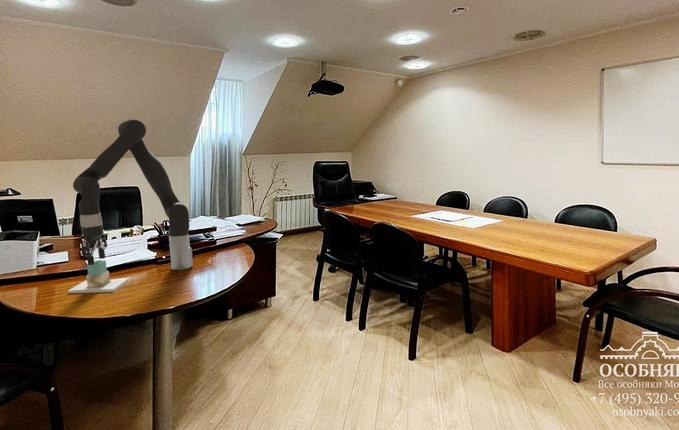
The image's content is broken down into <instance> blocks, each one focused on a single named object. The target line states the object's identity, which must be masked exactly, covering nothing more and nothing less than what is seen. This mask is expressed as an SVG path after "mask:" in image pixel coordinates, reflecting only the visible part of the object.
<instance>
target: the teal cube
mask: <svg viewBox="0 0 679 430" xmlns="http://www.w3.org/2000/svg"><path fill="white" fill-rule="evenodd" d="M106 261H107V260H102V259H101V260H100V259H98V260H94V264H93V265H88V263H86V268H87V275H102V274H103V273H105V272H107V271H108V270H107V262H106Z"/></svg>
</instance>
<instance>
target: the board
mask: <svg viewBox="0 0 679 430" xmlns="http://www.w3.org/2000/svg"><path fill="white" fill-rule="evenodd" d="M128 282H129V279H128V278H125V279H123V278H122V279H120V278H119V279H110V282H109V283H107V284H106V285H104V286H103V287H88V286H87V279H86V280H83V281H82V282H80V283H79V284H77V285H75V286H73V287H72V288H70V289H69V290H67V291H68V294H83V293H84V294H85V293H89V294H91V293H114V292H115V291H117V290H119V289H120V288H121V287H123V286H124V285H125V284H127V283H128Z"/></svg>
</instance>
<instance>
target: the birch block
mask: <svg viewBox="0 0 679 430" xmlns="http://www.w3.org/2000/svg"><path fill="white" fill-rule="evenodd" d="M86 280H87V286H88V287H103V286H104V285H106V284H107V283H109V282H110V280H111V278H110V271H109V270H107V272H105V273H103V274H102V275H88V274H87V275H86Z"/></svg>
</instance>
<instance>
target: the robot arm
mask: <svg viewBox="0 0 679 430" xmlns="http://www.w3.org/2000/svg"><path fill="white" fill-rule="evenodd" d="M117 128H118V129H117V132H118V135H119V136H117V138H116V139H115V140H114V141H113V143H111V144H110V145H109V146H108V147H107V148H106V149H104V150H103V151H102V152H101V153H100V154H99V155H98V156H97V157H96V158H95V160H94V161H93V162H92V163H91V164H90V165H89V167H87V168H86V169H85V170H84V171H82V172H81V173H80V174H79V175H77V177H76V178H75V179H74V181H73V183H72V188H73V190H74V191H75V192H76V193H79V194H81V200H80V201H79V203H78V210H79V222H80V229H81V236H82V237H84V238H85V241H81V243H80V246H81V254H82V257H86V259H87V261H86V262H87V264H88V265H93V264H94V261H95V258H94V253H95V252H96V251H98V258H99V260H100V259H101V260H102V259H105V258H106V253H105V250H106V248H108V243H107V237H106V234H105V233H104V225H103V218H102V215H101V209H100V207H101V206H100V196H101V187H100V183H99V181H100V180H101V179H104V178H106V177H108V175H109V174H110V173H111V172H112V170H114V168H115V167H116V166H117V164H118V163H119V162H120V160H121V159H122V158H123V157H124V156H125V154H126V153H128V151H130V153H131V154H132V155H133V157H134V160H135V161H136V163H137V165H138V167H139V168H140V170H141V172H142V175H144V178H145V180H146V181H147V183H148V185H149V186H150V188H152V189H151V190H152V191H154V193H155V194H156V196H157V197H158V199H159V202H160V204H161V205H162V208H163V210H164V213H165V215H166V217H167V218H168V223H169V224H168V225H169V228H168V241H169V243H168V244H169V254H170V266H171V270H174V271H183V270H186V269H187V270H188V269H190V268H191V267H194V266H193V265H194V262H193V249H192V247H191V245H190V233H189V230H190V214H189V209H188V207H187V206H186V205H184V204H183V203H181V201H180V200H179V199H178V197H177V196H176V194H175V192H174V190H173V187H172V184H171V181H170V178H169V175H168V173H167V171H166V169H165V167H164V165H163V164H162V163H161V161H160V160H159V159H158V158H157V157H156V156H155V155H154V154H153V153H152V152H151V151H150V150H149V148H148V147H147V146H146V144H145V141H144V140H143V138H144V137H145V136H146V133H147V126H146V125H145V124H144V122H143V121H141V120H139V119H133V118H132V119H127V120H126V121H122V122H121V123H120V124H119V125H118V127H117Z"/></svg>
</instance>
